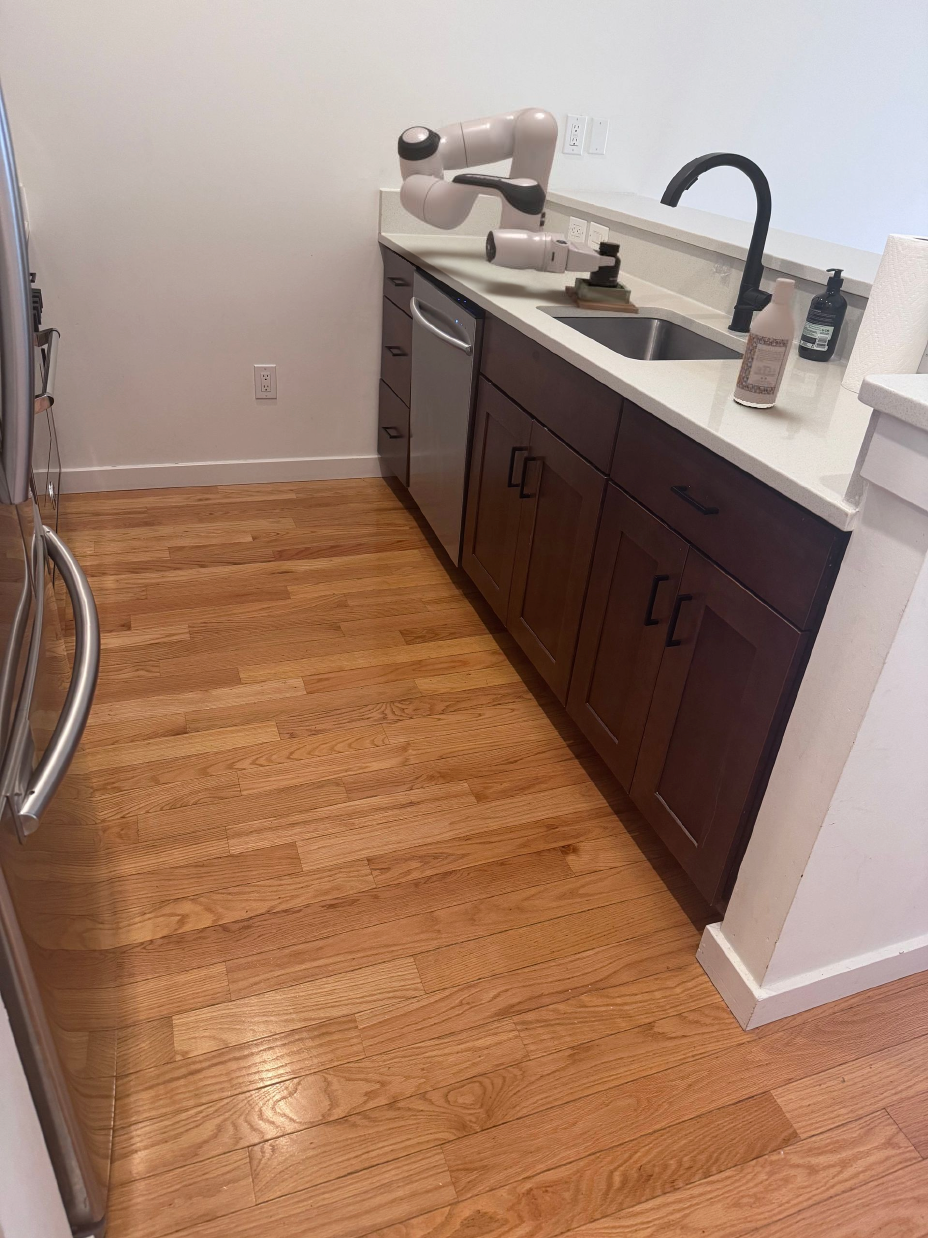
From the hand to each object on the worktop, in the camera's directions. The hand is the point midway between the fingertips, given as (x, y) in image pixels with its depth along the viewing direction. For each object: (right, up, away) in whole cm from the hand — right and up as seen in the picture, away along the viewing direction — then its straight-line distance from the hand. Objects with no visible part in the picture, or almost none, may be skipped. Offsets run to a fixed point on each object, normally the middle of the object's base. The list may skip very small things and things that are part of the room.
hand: (610, 258), depth 211 cm
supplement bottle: (-2, -7, +4) cm, 9 cm away
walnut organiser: (-2, -8, +5) cm, 10 cm away
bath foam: (+14, -50, -61) cm, 80 cm away
